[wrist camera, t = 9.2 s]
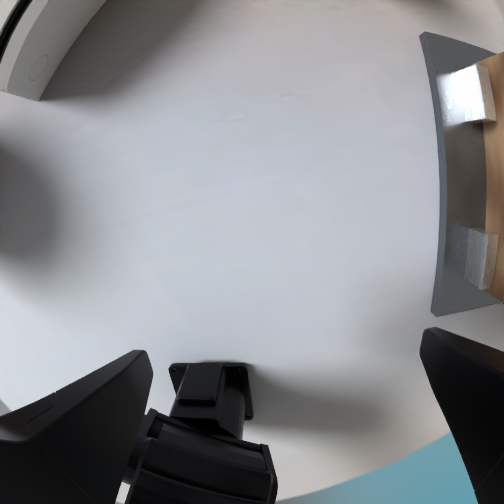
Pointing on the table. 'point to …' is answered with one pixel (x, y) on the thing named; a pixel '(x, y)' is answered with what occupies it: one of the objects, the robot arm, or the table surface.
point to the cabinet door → (495, 169)
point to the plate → (461, 173)
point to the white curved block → (38, 41)
